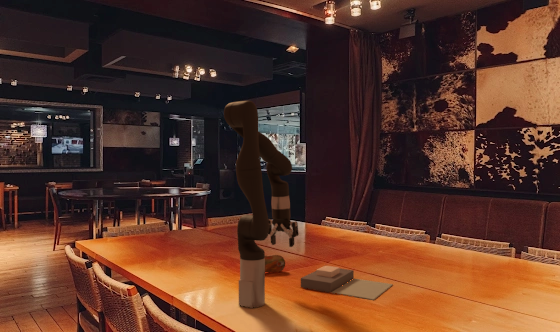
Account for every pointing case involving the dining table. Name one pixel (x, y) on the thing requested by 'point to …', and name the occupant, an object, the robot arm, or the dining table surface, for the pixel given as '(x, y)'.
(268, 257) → the tin
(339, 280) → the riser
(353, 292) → the mat
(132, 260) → the dining table surface
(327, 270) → the tile
